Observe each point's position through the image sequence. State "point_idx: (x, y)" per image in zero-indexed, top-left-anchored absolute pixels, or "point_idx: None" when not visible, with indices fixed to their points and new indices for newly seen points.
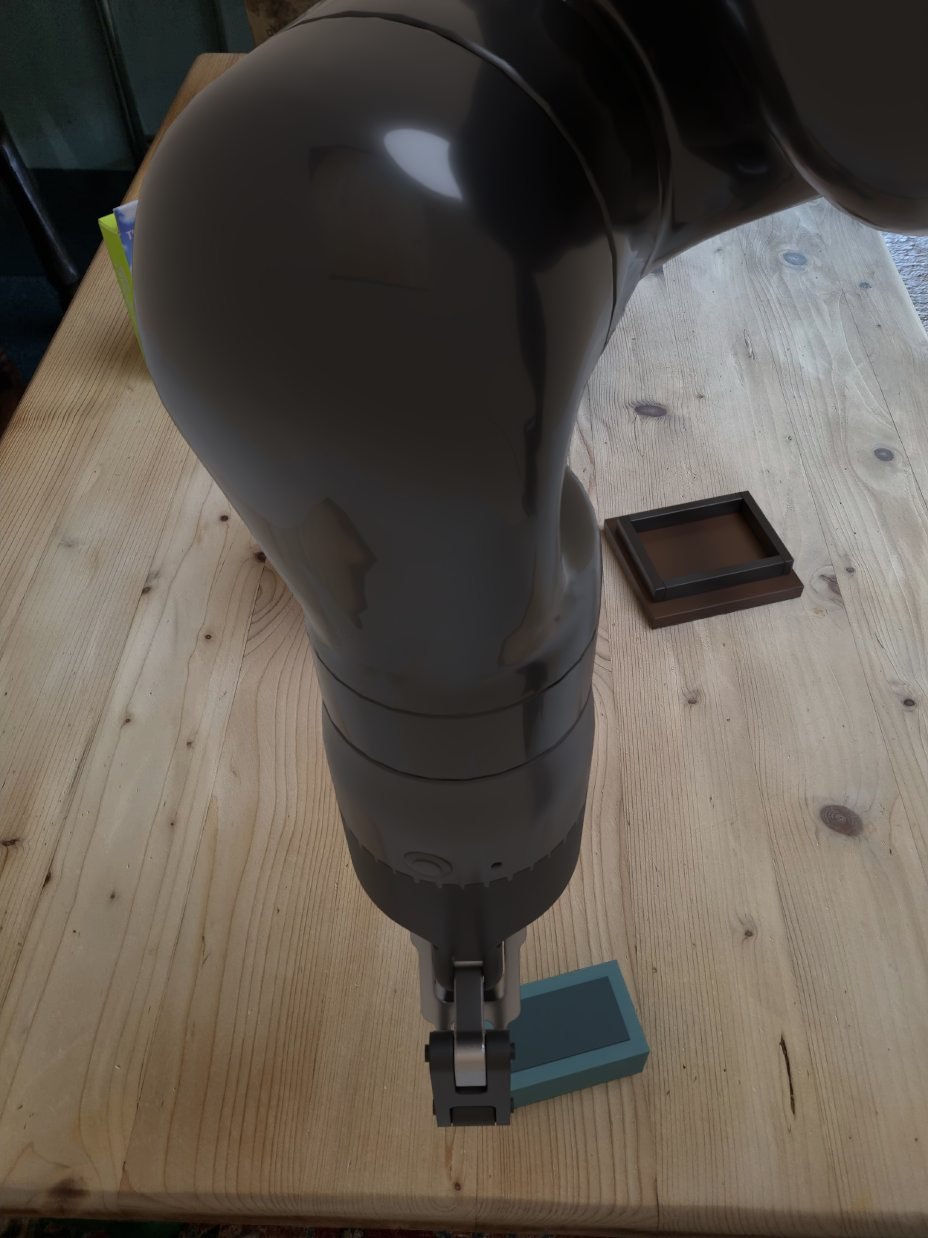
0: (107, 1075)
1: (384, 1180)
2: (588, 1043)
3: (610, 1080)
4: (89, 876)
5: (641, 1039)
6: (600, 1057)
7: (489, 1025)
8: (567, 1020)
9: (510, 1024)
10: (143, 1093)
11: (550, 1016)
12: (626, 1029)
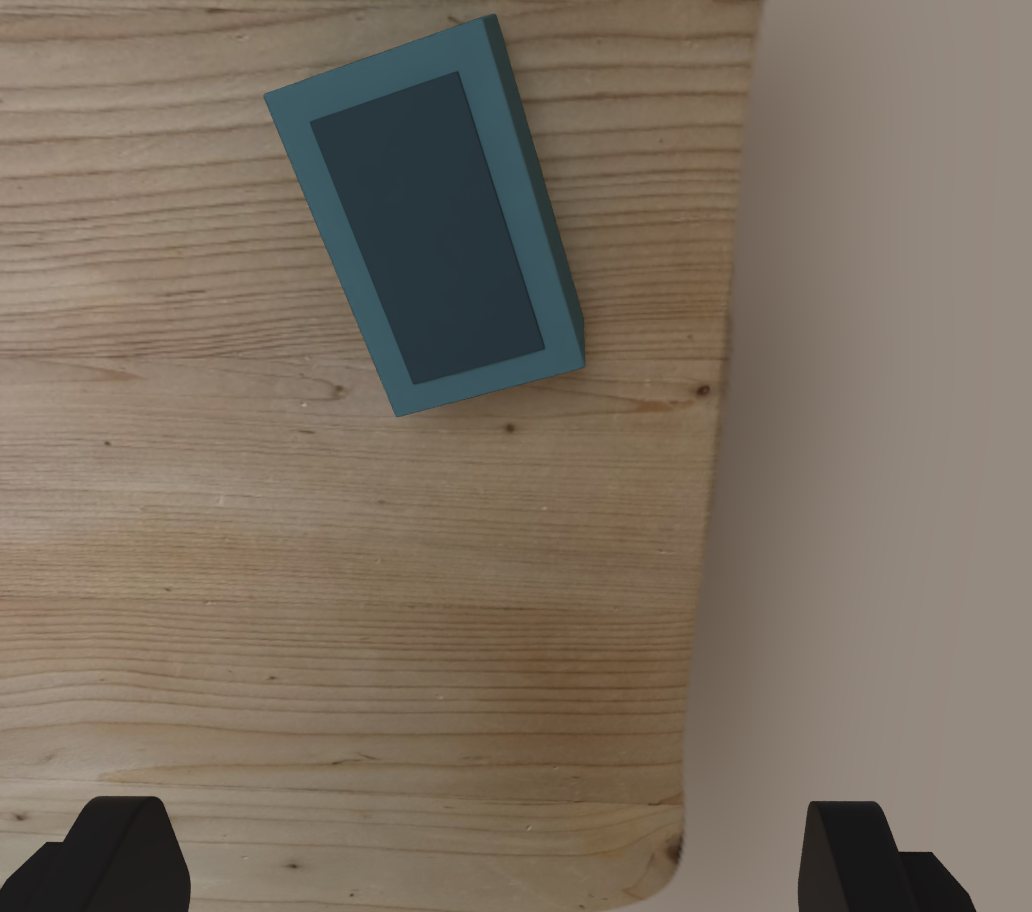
0: (540, 836)
1: (688, 501)
2: (474, 179)
3: (518, 93)
4: (270, 893)
5: (454, 39)
6: (502, 149)
7: (450, 389)
8: (426, 226)
9: (446, 351)
10: (562, 798)
11: (421, 266)
12: (434, 80)
